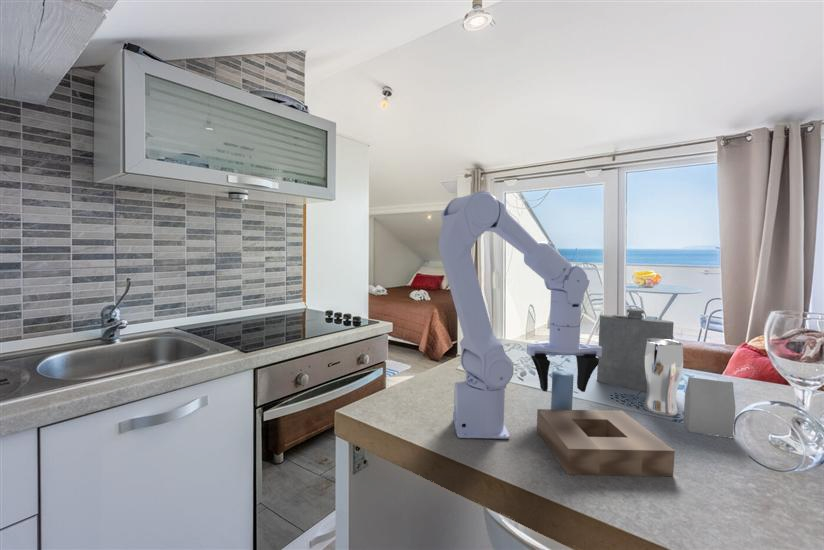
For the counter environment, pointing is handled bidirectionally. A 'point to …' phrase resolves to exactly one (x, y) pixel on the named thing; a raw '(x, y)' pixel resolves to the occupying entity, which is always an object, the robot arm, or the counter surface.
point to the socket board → (603, 443)
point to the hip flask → (627, 347)
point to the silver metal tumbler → (662, 375)
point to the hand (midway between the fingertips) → (562, 389)
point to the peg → (562, 390)
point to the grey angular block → (709, 407)
